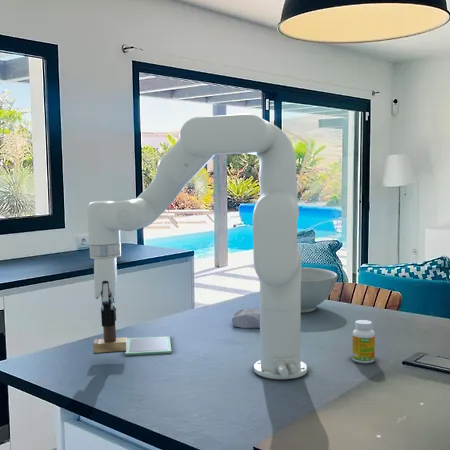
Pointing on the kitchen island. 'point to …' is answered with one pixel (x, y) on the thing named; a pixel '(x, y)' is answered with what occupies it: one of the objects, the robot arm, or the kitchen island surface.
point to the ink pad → (148, 345)
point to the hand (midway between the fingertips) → (109, 322)
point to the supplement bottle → (363, 342)
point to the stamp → (110, 341)
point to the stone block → (247, 318)
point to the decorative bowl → (315, 287)
